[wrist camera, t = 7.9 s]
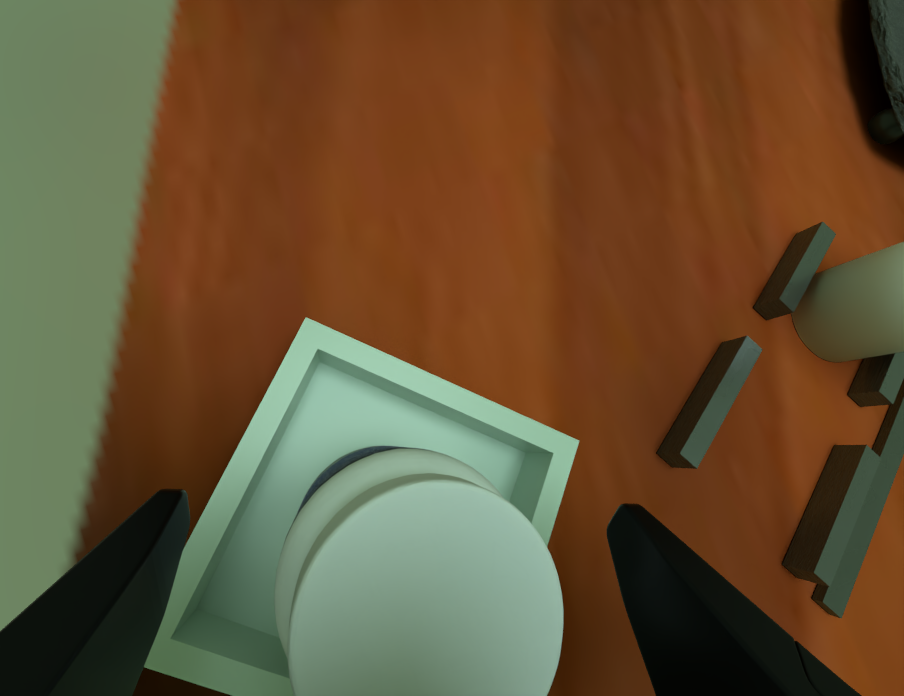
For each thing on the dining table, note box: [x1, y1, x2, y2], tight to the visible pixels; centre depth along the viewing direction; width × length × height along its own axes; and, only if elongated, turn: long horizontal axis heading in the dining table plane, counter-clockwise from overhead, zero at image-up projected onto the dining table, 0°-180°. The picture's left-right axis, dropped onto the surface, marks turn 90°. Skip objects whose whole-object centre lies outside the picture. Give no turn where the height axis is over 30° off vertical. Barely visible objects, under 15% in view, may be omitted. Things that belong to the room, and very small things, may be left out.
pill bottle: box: [274, 446, 563, 696], centre depth 12 cm, size 6×6×10 cm
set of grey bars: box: [657, 222, 904, 618], centre depth 23 cm, size 17×11×2 cm, turn 141°
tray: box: [144, 318, 579, 696], centre depth 16 cm, size 11×11×3 cm
